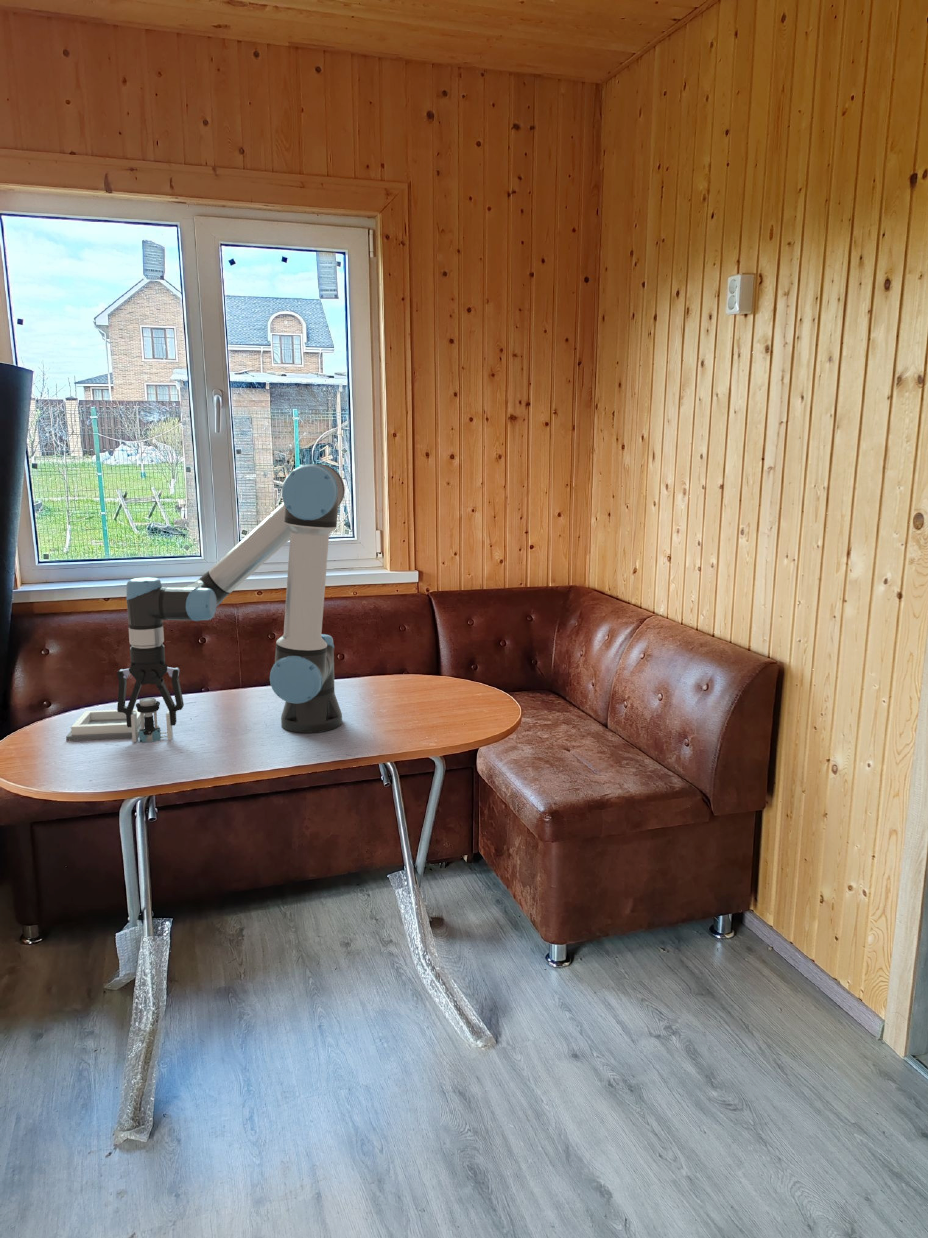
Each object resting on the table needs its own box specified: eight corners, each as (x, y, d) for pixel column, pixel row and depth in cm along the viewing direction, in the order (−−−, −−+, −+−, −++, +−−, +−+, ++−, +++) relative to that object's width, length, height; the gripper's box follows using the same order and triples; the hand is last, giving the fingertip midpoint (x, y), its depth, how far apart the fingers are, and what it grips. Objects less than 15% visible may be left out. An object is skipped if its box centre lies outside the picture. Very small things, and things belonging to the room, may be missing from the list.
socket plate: (149, 718, 216) (148, 707, 216) (137, 737, 202) (136, 725, 201) (83, 721, 214) (82, 709, 213) (66, 740, 199) (65, 728, 199)
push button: (168, 735, 204) (165, 695, 202) (168, 742, 199) (165, 701, 197) (138, 738, 202) (135, 697, 200) (137, 745, 197) (135, 703, 195)
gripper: (194, 640, 201) (198, 732, 205) (105, 642, 198) (111, 736, 202) (189, 647, 194) (194, 742, 198) (97, 649, 190) (104, 746, 195)
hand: (152, 739), depth 200 cm, fingers open, 7 cm apart
